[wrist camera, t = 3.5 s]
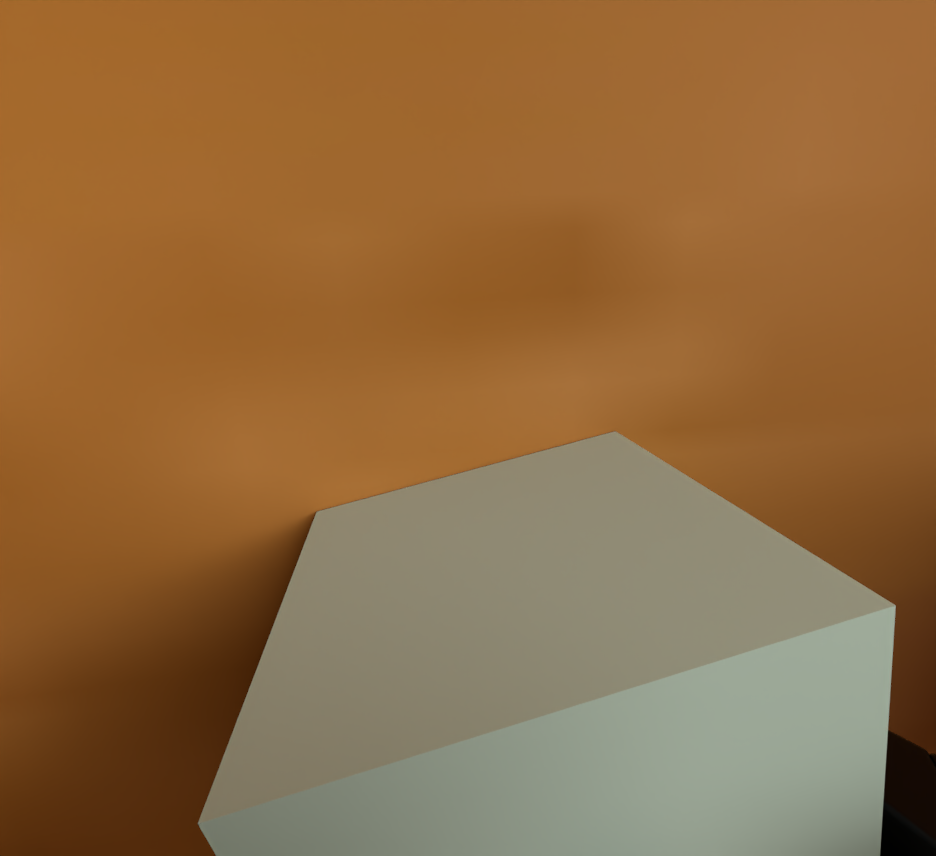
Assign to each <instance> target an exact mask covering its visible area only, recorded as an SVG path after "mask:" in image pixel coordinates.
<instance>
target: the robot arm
mask: <svg viewBox="0 0 936 856" xmlns="http://www.w3.org/2000/svg"><path fill="white" fill-rule="evenodd" d="M880 856H936V755H935V754H930V755H929V753H928V752H927V751H926V750H925V749H924V748H922V747H920V746H918V745H916V744H914V743H912V742H910V741H908V740H906V739H904V738H903V737H901V736H899V735H897V734H895V733H893V732H891V731H889V730H888V737H887V753H886V769H885V784H884V800H883V816H882V832H881V848H880Z"/></svg>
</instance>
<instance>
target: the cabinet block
mask: <svg viewBox="0 0 936 856" xmlns="http://www.w3.org/2000/svg"><path fill="white" fill-rule="evenodd" d="M895 610H896V605H894V604H893V603H891V602H889V601H888V600H886V599H885V598H883V597H881V596H880V595H878V594H876V593H875V592H873V591H872V590H870V589H868V588H867V587H865V586H864V585H862V584H860V583H859V582H857V581H856V580H854V579H852V578H851V577H849V576H848V575H846V574H844V573H843V572H841V571H839V570H838V569H836V568H835V567H833V566H831V565H830V564H828V563H827V562H825V561H823V560H822V559H820V558H819V557H817V556H815V555H814V554H812V553H811V552H809V551H807V550H806V549H804V548H802V547H801V546H799V545H798V544H796V543H794V542H793V541H791V540H790V539H788V538H786V537H785V536H783V535H782V534H780V533H778V532H777V531H775V530H774V529H772V528H770V527H769V526H767V525H765V524H764V523H762V522H761V521H759V520H757V519H756V518H754V517H753V516H751V515H749V514H748V513H746V512H745V511H743V510H741V509H740V508H738V507H737V506H735V505H733V504H732V503H730V502H728V501H727V500H725V499H724V498H722V497H720V496H719V495H717V494H716V493H714V492H712V491H711V490H709V489H708V488H706V487H704V486H703V485H701V484H699V483H698V482H696V481H695V480H693V479H691V478H690V477H688V476H687V475H685V474H683V473H682V472H680V471H679V470H677V469H675V468H674V467H672V466H671V465H669V464H667V463H666V462H664V461H662V460H661V459H659V458H658V457H656V456H654V455H653V454H651V453H650V452H648V451H646V450H645V449H643V448H642V447H640V446H638V445H637V444H635V443H634V442H632V441H630V440H629V439H627V438H625V437H624V436H622V435H621V434H619V433H617V432H616V431H614V432H611V433H607V434H603V435H600V436H596V437H592V438H589V439H585V440H581V441H577V442H574V443H570V444H566V445H563V446H559V447H555V448H551V449H548V450H544V451H540V452H537V453H533V454H529V455H525V456H522V457H518V458H514V459H511V460H507V461H503V462H499V463H496V464H492V465H488V466H485V467H481V468H477V469H473V470H470V471H466V472H462V473H459V474H455V475H451V476H447V477H444V478H440V479H436V480H433V481H429V482H425V483H421V484H418V485H414V486H410V487H407V488H403V489H399V490H395V491H392V492H388V493H384V494H381V495H377V496H373V497H370V498H366V499H362V500H358V501H355V502H351V503H347V504H344V505H340V506H336V507H332V508H329V509H325V510H321V511H318V512H316V515H315V517H314V520H313V522H312V525H311V528H310V530H309V533H308V536H307V538H306V541H305V543H304V546H303V549H302V551H301V554H300V557H299V559H298V562H297V564H296V567H295V570H294V572H293V575H292V578H291V580H290V583H289V585H288V588H287V591H286V593H285V596H284V599H283V601H282V604H281V606H280V609H279V612H278V614H277V617H276V620H275V622H274V625H273V627H272V630H271V633H270V635H269V638H268V640H267V643H266V646H265V648H264V651H263V654H262V656H261V659H260V661H259V664H258V667H257V669H256V672H255V675H254V677H253V680H252V682H251V685H250V688H249V690H248V693H247V696H246V698H245V701H244V703H243V706H242V709H241V711H240V714H239V717H238V719H237V722H236V724H235V727H234V730H233V732H232V735H231V738H230V740H229V743H228V745H227V748H226V751H225V753H224V756H223V759H222V761H221V764H220V766H219V769H218V772H217V774H216V777H215V779H214V782H213V785H212V787H211V790H210V793H209V795H208V798H207V800H206V803H205V806H204V808H203V811H202V814H201V816H200V819H199V821H198V825H199V827H200V829H201V831H202V832H203V834H204V836H205V837H206V839H207V841H208V843H209V844H210V846H211V848H212V849H213V851H214V853H215V855H216V856H880V848H881V832H882V816H883V800H884V784H885V769H886V753H887V737H888V721H889V705H890V689H891V673H892V657H893V641H894V626H895Z"/></svg>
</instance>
